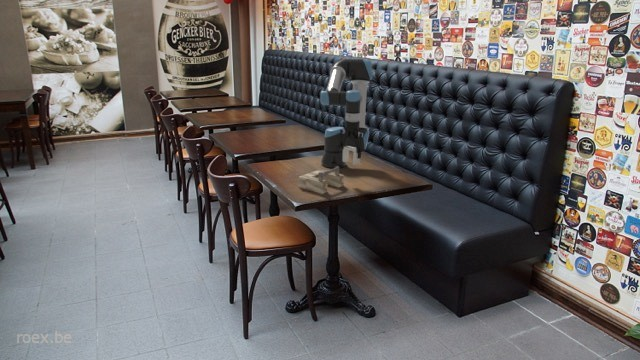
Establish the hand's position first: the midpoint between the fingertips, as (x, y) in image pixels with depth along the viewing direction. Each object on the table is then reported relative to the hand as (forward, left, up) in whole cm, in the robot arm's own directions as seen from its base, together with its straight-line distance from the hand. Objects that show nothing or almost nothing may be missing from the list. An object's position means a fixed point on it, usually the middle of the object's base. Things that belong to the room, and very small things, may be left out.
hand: (350, 162), depth 257 cm
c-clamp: (+15, -8, -12) cm, 21 cm away
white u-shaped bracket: (0, 0, 0) cm, 0 cm away
